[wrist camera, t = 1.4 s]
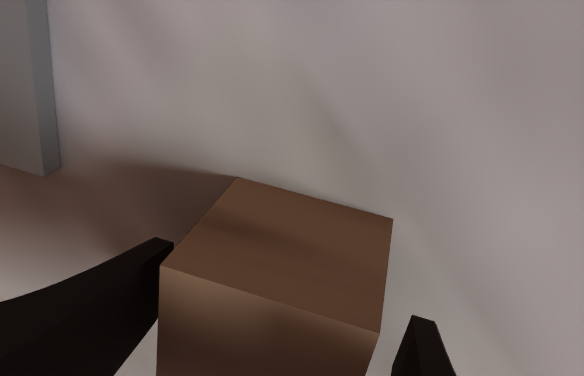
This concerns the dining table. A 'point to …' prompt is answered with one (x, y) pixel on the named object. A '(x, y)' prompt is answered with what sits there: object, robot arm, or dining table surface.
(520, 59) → the dining table surface
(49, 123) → the slate trivet
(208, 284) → the walnut cube
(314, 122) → the dining table surface
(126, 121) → the dining table surface
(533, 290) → the dining table surface
